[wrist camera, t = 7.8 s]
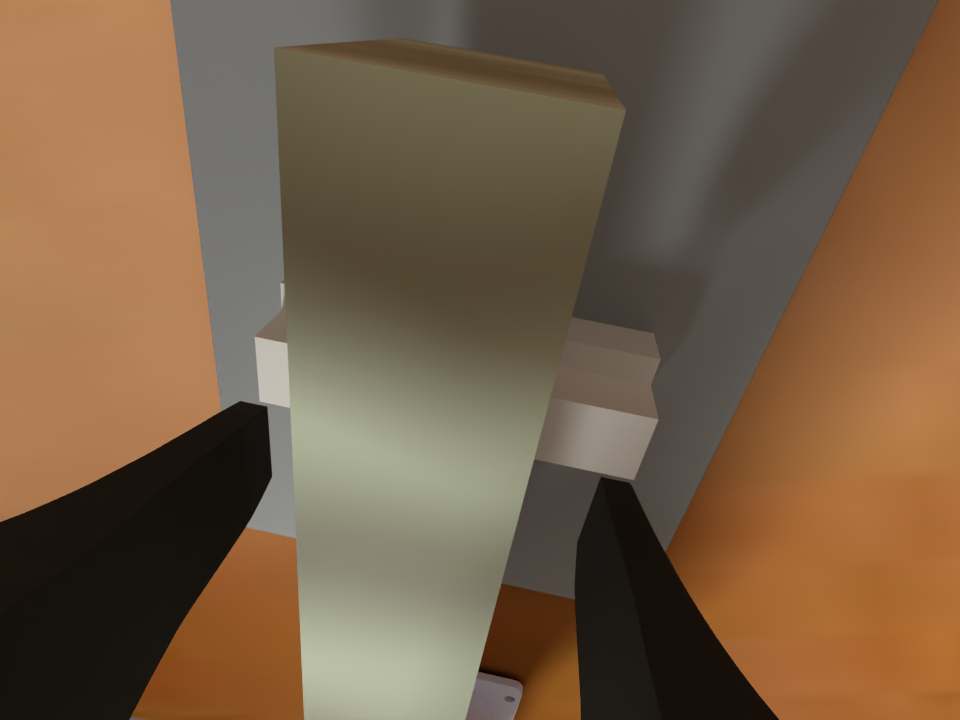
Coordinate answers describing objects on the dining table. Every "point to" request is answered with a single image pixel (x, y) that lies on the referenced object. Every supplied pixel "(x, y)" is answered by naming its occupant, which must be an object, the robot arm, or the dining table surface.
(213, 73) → the stand
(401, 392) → the bar
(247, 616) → the dining table surface
